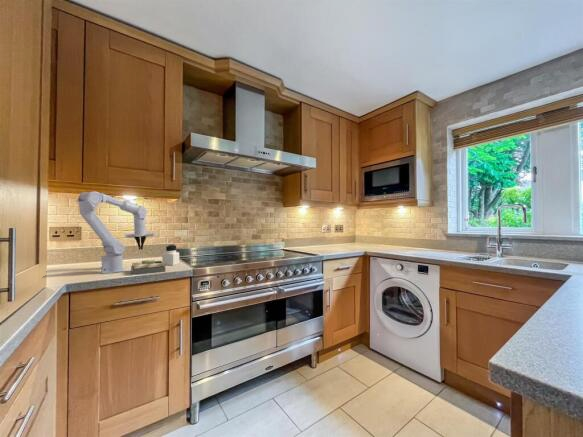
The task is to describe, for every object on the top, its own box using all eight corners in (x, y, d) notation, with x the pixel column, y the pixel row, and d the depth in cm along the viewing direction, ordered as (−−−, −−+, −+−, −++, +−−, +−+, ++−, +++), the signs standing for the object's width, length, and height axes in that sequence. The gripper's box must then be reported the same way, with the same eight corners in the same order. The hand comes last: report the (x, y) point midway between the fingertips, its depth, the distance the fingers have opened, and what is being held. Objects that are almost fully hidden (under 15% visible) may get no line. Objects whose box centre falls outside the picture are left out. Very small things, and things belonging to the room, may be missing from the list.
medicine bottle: (179, 263, 163) (179, 244, 163) (173, 265, 156) (173, 245, 156) (168, 263, 164) (168, 244, 164) (162, 265, 157) (162, 245, 157)
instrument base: (132, 275, 130) (132, 269, 130) (131, 270, 141) (131, 265, 141) (165, 271, 139) (165, 266, 139) (161, 267, 150) (161, 263, 150)
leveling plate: (133, 268, 131) (133, 262, 131) (132, 265, 141) (132, 259, 141) (164, 266, 139) (164, 260, 139) (160, 262, 149) (160, 257, 149)
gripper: (125, 227, 143) (126, 251, 144) (154, 225, 152) (155, 248, 152) (124, 226, 149) (125, 250, 150) (153, 225, 157) (153, 247, 158)
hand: (140, 249), depth 151 cm, fingers closed
